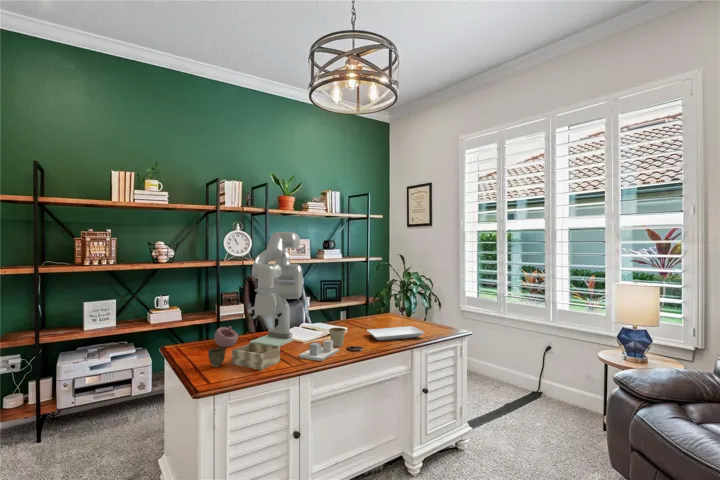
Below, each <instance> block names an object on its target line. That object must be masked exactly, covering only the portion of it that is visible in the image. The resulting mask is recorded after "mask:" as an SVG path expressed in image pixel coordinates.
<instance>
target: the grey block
mask: <svg viewBox="0 0 720 480" xmlns="http://www.w3.org/2000/svg"><path fill="white" fill-rule="evenodd" d="M321 346H322V343H319V342H315V341H314V342H312V343H309V349H310V355H316V356H317V355H319V354H321Z"/></svg>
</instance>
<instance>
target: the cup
mask: <svg viewBox="0 0 720 480" xmlns="http://www.w3.org/2000/svg"><path fill="white" fill-rule="evenodd" d="M226 351H227V350H226V347H220V346H218V347H216V348H215V347H214V348H210V349H208V350H207V355H208V361H209V362H210V364H211V366H212V367H213V368H219V367H221V366H222V364H223V363H224V361H225V357H226Z"/></svg>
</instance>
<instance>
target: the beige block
mask: <svg viewBox="0 0 720 480" xmlns="http://www.w3.org/2000/svg"><path fill="white" fill-rule="evenodd" d="M322 347H323V352H331V351H332V350H333V348H334V346H333V340H331V339H324V340H323V342H322Z"/></svg>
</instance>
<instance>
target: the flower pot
mask: <svg viewBox="0 0 720 480" xmlns="http://www.w3.org/2000/svg"><path fill="white" fill-rule="evenodd" d="M346 330H347V329H346V328H344V327H331V328H328V332H329V337H330V340H333V348H335V347H336V348H337V347H340V348H341V347H342V346H344V338H345V333H346Z"/></svg>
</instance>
